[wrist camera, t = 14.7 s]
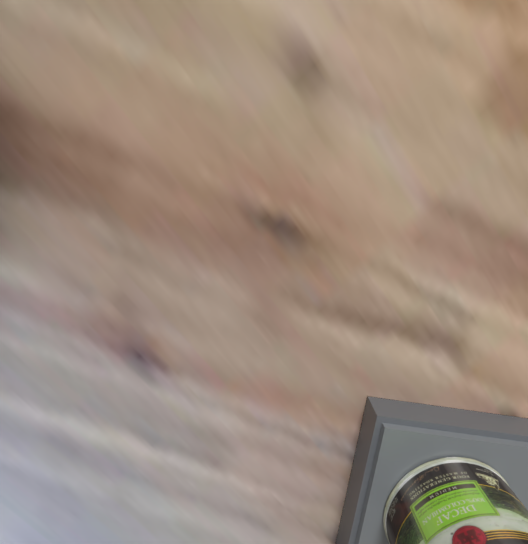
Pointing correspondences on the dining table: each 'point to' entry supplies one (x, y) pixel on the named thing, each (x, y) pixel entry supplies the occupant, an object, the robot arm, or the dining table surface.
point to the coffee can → (454, 506)
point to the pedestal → (423, 456)
